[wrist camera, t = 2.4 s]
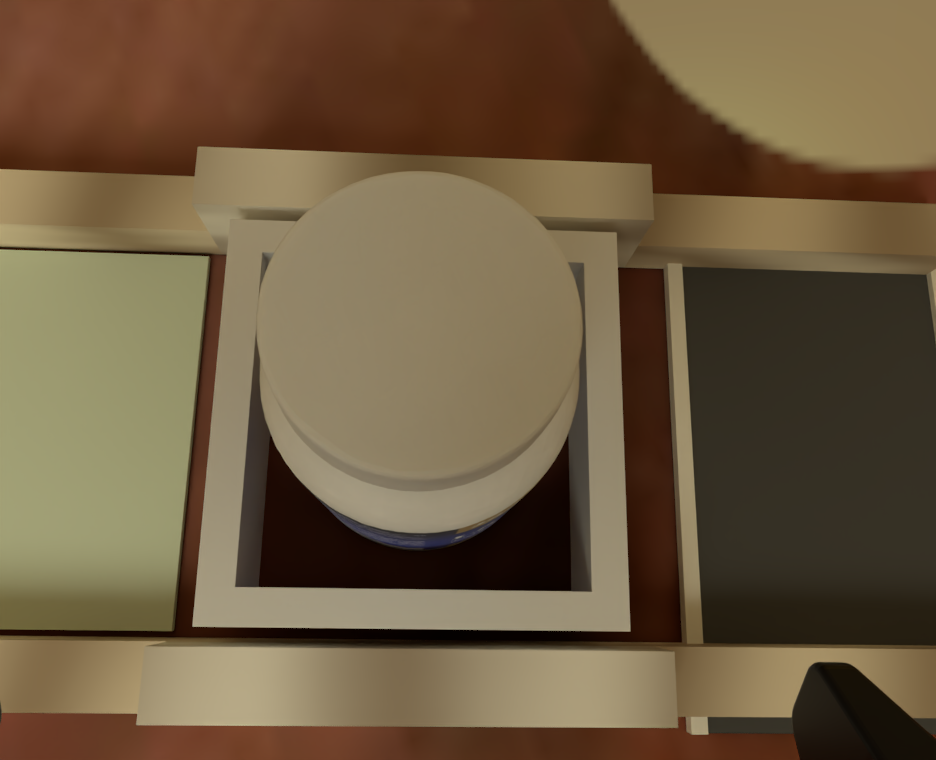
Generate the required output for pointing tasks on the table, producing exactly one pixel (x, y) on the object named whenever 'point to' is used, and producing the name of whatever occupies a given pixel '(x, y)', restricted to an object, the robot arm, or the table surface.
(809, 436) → the tray
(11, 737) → the table surface
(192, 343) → the pad
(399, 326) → the pill bottle
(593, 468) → the collar carriage
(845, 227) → the oak channel
